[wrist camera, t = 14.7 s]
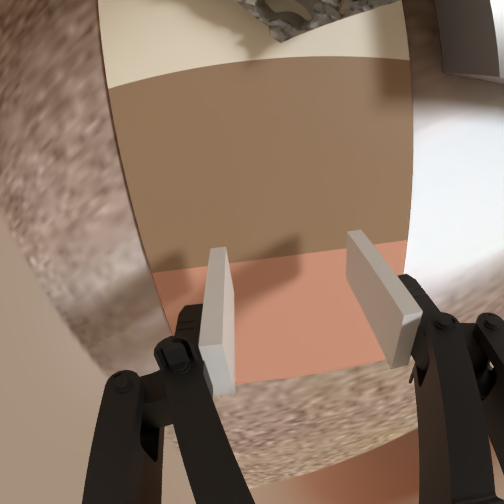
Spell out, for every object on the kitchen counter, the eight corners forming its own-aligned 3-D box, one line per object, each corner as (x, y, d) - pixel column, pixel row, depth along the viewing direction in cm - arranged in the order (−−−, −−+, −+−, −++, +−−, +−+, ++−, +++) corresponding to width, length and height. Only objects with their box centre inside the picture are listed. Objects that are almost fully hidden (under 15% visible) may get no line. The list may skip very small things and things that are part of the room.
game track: (97, -71, 9) (96, -72, 8) (376, -92, 8) (377, -94, 8) (193, 385, 24) (192, 386, 24) (385, 357, 24) (386, 359, 24)
